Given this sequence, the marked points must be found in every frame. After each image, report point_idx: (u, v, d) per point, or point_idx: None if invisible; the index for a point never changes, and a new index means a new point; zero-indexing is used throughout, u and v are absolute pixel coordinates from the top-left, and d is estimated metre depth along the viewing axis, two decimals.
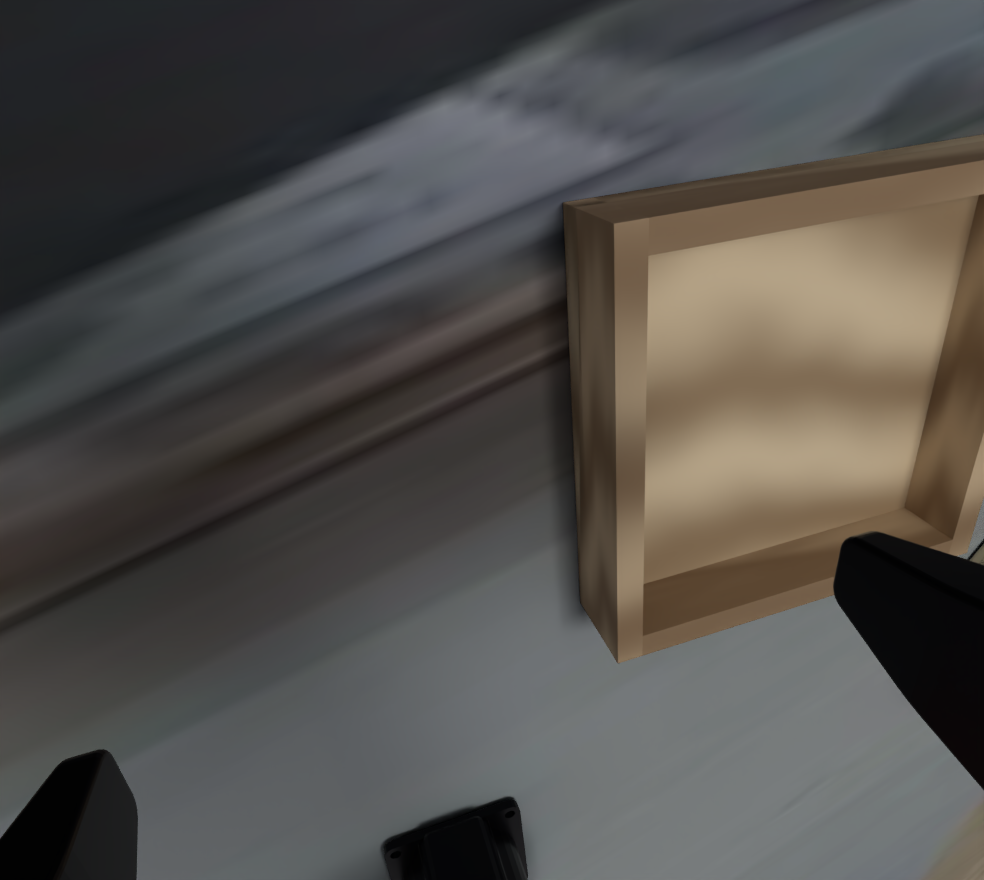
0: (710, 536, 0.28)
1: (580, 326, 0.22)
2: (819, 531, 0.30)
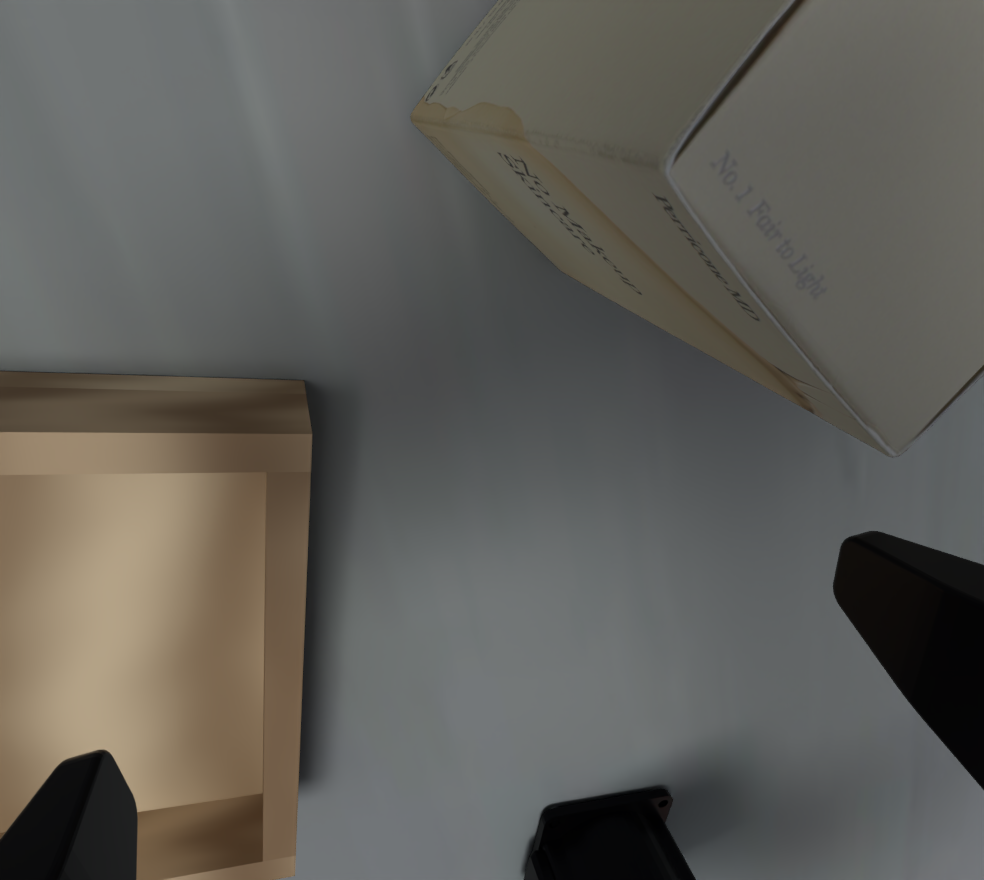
0: (214, 706, 0.22)
1: None
2: (262, 564, 0.20)
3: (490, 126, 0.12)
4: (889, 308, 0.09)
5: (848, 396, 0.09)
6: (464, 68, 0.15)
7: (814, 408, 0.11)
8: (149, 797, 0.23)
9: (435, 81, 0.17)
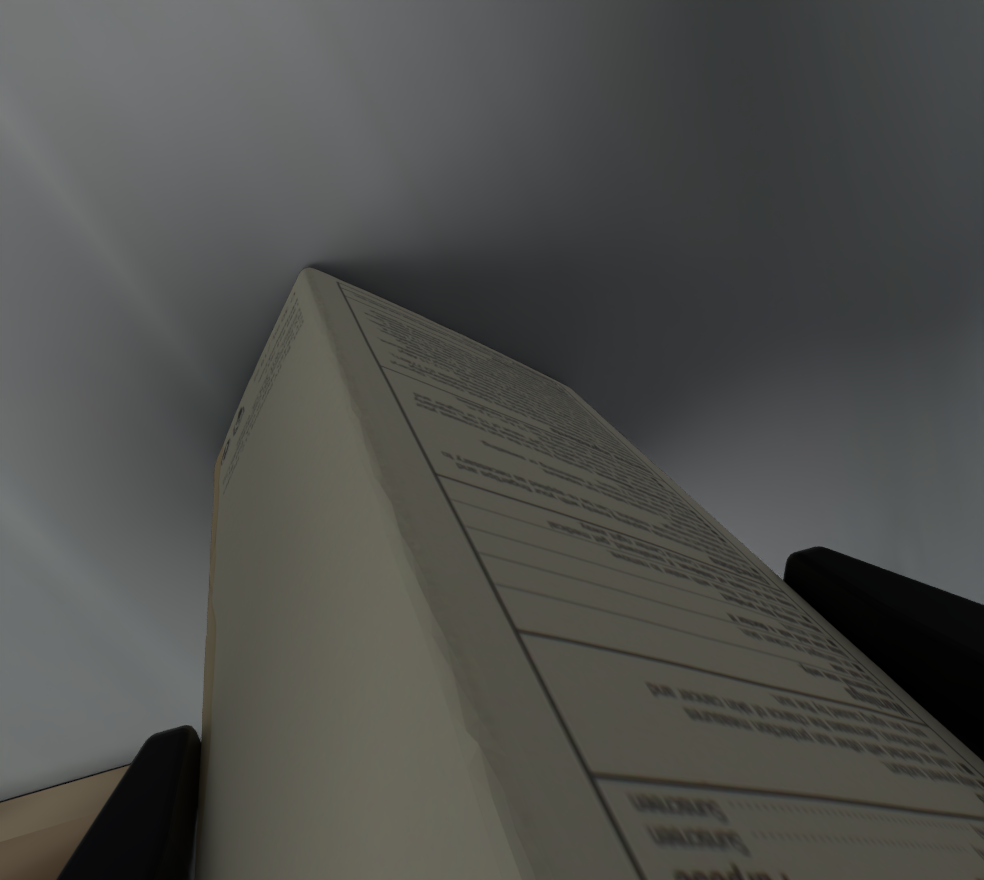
0: None
1: None
2: None
3: (201, 742, 0.07)
4: None
5: None
6: (238, 457, 0.11)
7: None
8: None
9: (231, 425, 0.12)
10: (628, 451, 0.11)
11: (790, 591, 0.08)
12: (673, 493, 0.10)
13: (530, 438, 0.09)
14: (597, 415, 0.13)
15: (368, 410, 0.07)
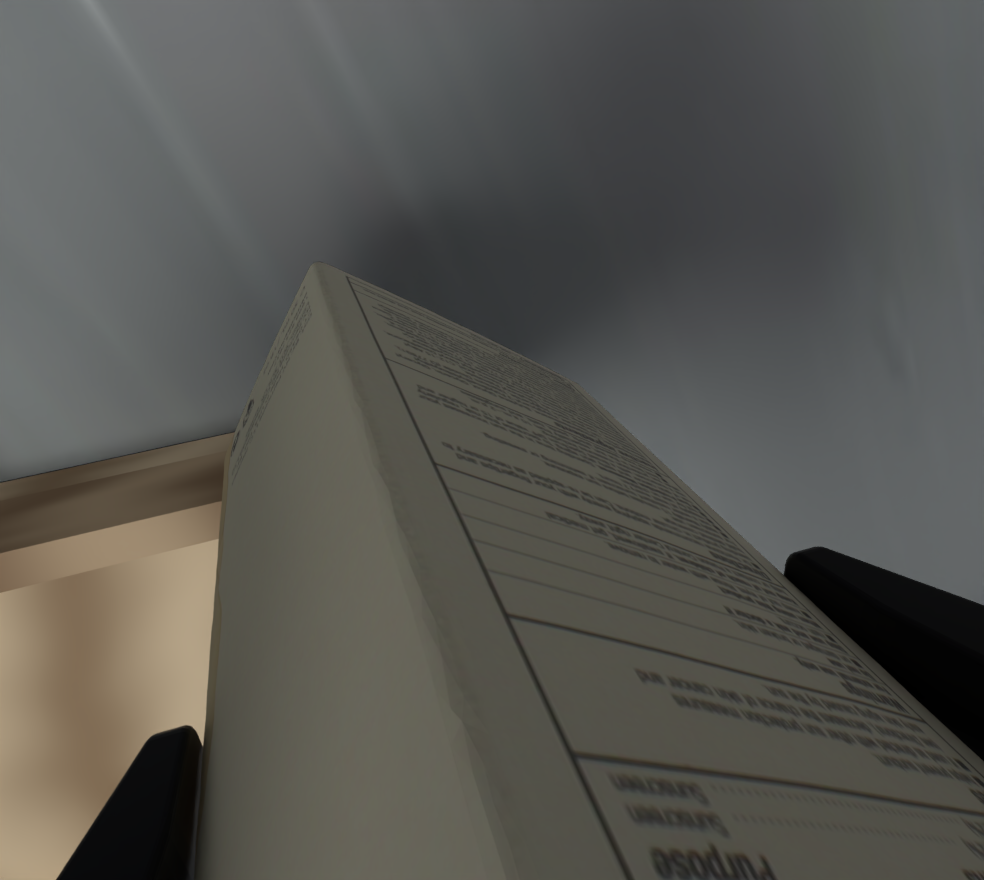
0: None
1: None
2: None
3: (205, 726, 0.08)
4: None
5: None
6: (246, 448, 0.11)
7: None
8: None
9: (241, 417, 0.12)
10: (633, 447, 0.11)
11: (791, 587, 0.08)
12: (677, 489, 0.10)
13: (533, 431, 0.09)
14: (604, 411, 0.13)
15: (369, 400, 0.07)
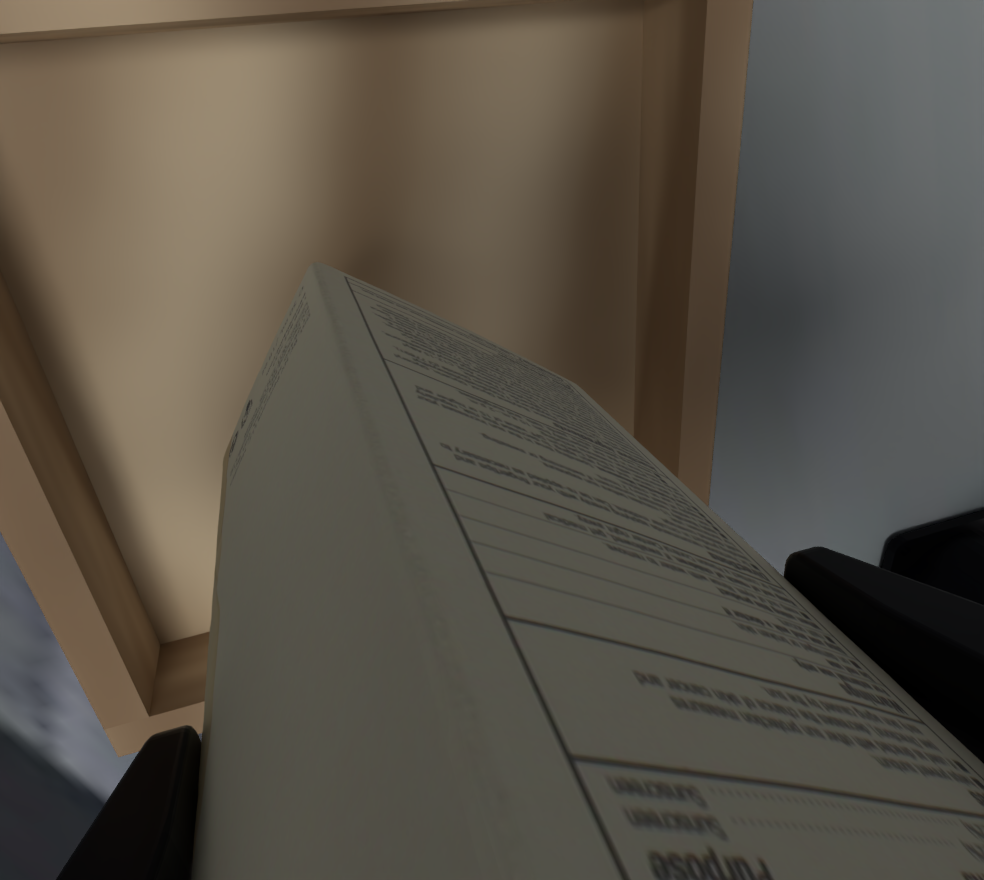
0: None
1: None
2: (636, 205, 0.17)
3: (203, 726, 0.08)
4: None
5: None
6: (245, 449, 0.11)
7: None
8: None
9: (240, 417, 0.12)
10: (632, 447, 0.11)
11: (790, 588, 0.08)
12: (676, 489, 0.10)
13: (532, 432, 0.09)
14: (603, 411, 0.13)
15: (368, 402, 0.07)
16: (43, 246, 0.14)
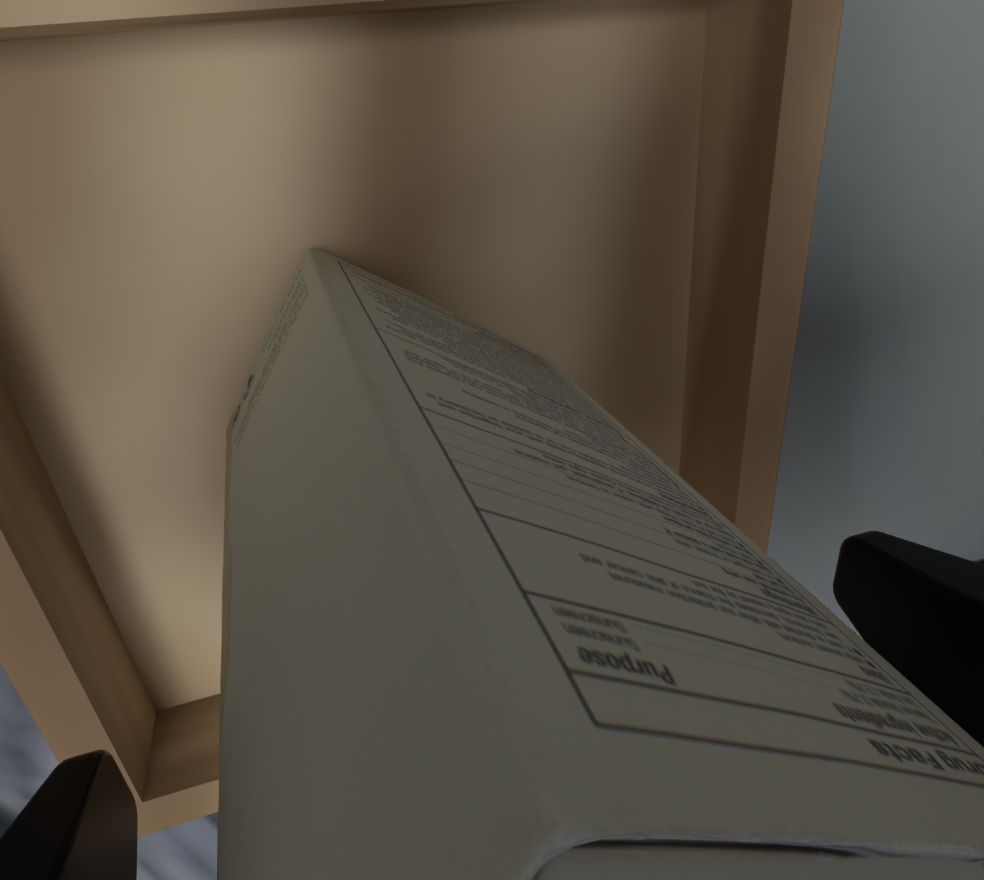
0: None
1: None
2: (691, 225, 0.15)
3: (221, 645, 0.09)
4: None
5: None
6: (249, 416, 0.12)
7: None
8: None
9: (241, 391, 0.14)
10: (599, 414, 0.12)
11: (732, 526, 0.10)
12: (636, 448, 0.11)
13: (506, 393, 0.10)
14: (575, 385, 0.14)
15: (364, 357, 0.08)
16: (19, 277, 0.12)
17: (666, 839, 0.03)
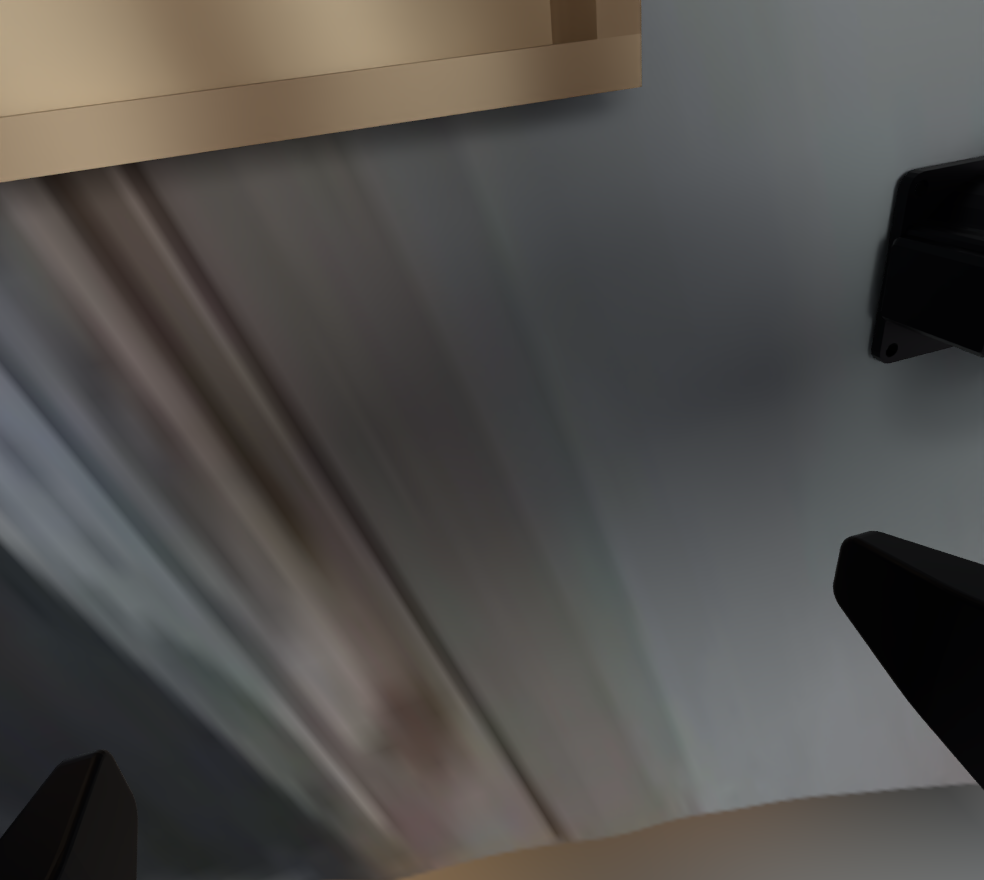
0: None
1: None
2: None
3: None
4: None
5: None
6: None
7: None
8: (402, 32, 0.15)
9: None
10: None
11: None
12: None
13: None
14: None
15: None
16: None
17: None
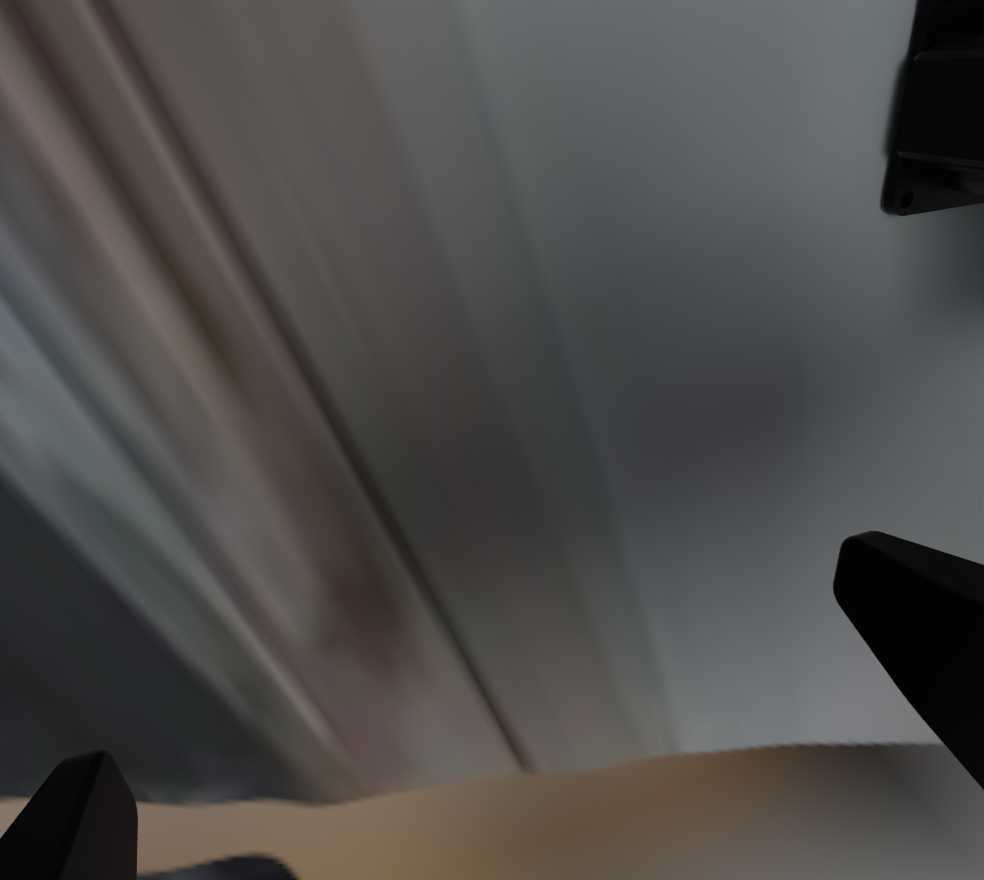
0: None
1: None
2: None
3: None
4: None
5: None
6: None
7: None
8: None
9: None
10: None
11: None
12: None
13: None
14: None
15: None
16: None
17: None
